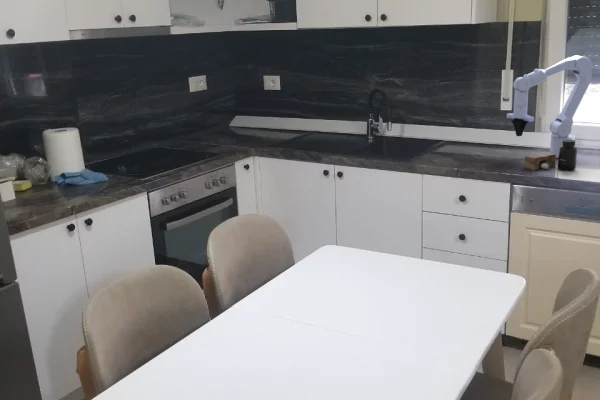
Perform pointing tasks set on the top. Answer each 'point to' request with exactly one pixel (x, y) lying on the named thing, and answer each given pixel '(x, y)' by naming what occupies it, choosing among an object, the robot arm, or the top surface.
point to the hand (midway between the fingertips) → (519, 135)
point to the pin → (544, 166)
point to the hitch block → (539, 160)
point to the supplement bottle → (567, 156)
